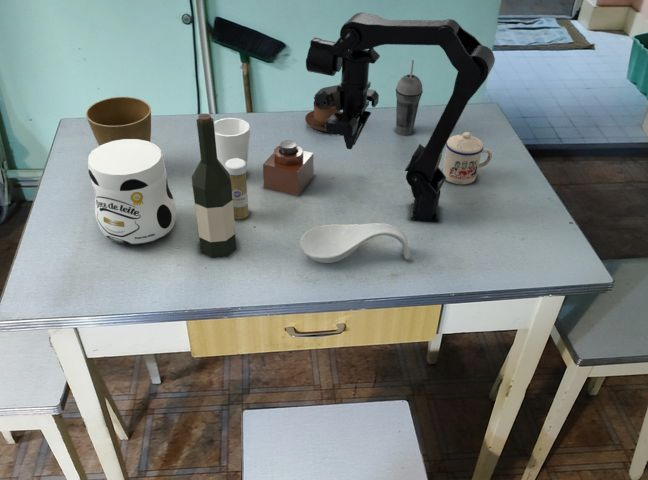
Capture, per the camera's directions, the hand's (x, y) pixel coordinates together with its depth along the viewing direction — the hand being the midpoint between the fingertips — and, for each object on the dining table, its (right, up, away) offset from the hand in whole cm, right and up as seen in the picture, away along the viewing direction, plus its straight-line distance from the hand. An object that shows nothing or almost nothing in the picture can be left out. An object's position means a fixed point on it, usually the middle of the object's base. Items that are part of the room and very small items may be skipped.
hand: (350, 146), depth 154 cm
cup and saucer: (-5, +17, +35) cm, 39 cm away
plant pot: (-55, -2, +15) cm, 57 cm away
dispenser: (-15, -5, +13) cm, 20 cm away
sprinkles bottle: (-26, -15, +2) cm, 30 cm away
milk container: (-48, -20, -3) cm, 52 cm away
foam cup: (-29, -3, +15) cm, 33 cm away
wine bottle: (-29, -24, -7) cm, 39 cm away
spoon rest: (0, -26, -8) cm, 27 cm away
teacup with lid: (+30, -2, +17) cm, 35 cm away
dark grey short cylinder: (-15, +1, +7) cm, 16 cm away
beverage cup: (+16, +15, +34) cm, 40 cm away
